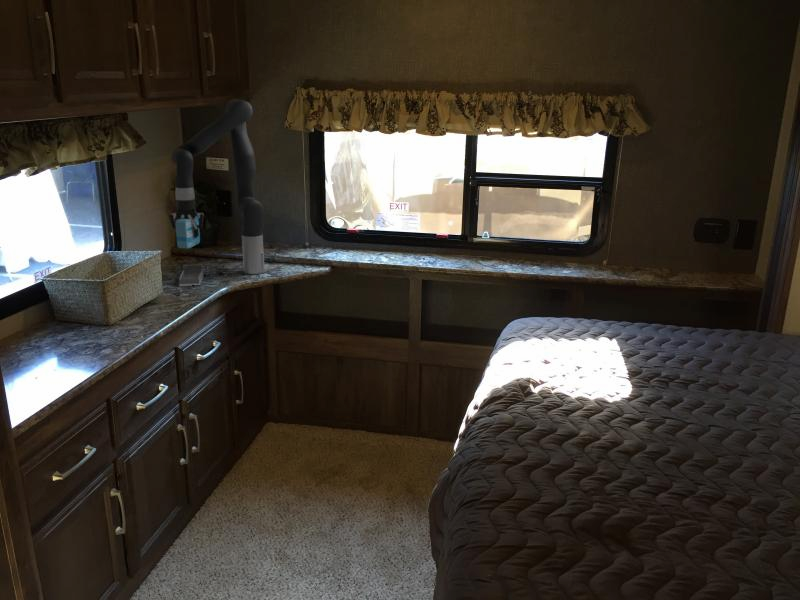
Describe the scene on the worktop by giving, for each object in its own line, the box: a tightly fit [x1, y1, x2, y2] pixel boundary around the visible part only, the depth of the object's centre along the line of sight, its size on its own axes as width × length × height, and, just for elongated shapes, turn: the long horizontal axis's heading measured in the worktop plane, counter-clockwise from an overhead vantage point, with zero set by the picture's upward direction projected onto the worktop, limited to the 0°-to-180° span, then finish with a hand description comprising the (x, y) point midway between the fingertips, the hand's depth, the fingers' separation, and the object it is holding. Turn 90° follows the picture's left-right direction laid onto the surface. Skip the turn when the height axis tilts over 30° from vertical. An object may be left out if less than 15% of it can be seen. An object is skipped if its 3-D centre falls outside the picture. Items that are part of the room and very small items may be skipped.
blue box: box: [175, 215, 201, 249], centre depth 287 cm, size 12×4×12 cm, turn 169°
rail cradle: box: [178, 264, 204, 287], centre depth 293 cm, size 8×16×5 cm, turn 10°
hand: (188, 237), depth 288 cm, fingers closed on blue box, 5 cm apart
